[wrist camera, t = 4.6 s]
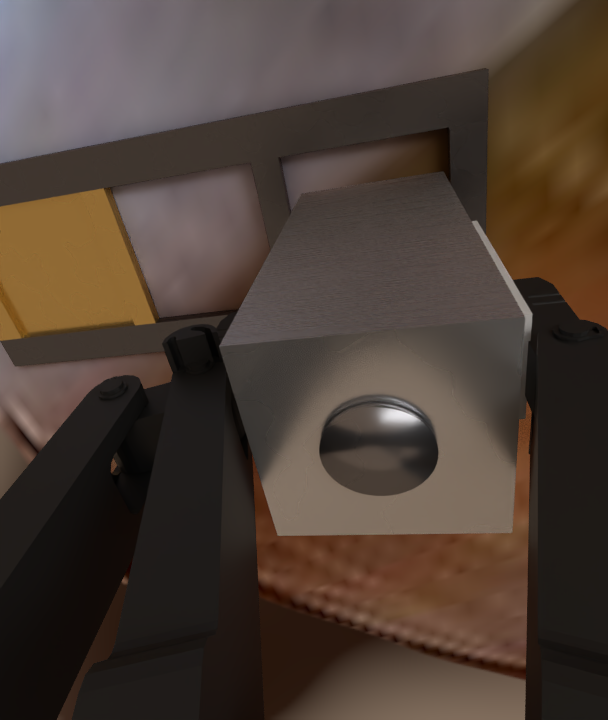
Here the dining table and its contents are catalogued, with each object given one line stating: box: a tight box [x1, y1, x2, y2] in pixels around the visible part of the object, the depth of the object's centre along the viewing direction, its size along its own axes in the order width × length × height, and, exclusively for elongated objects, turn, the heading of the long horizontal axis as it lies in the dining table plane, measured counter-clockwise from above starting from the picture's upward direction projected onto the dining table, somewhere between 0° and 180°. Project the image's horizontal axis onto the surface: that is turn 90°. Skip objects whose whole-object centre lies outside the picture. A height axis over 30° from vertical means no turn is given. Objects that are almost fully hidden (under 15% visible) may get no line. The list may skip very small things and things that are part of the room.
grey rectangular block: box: [219, 171, 525, 536], centre depth 14 cm, size 5×5×11 cm
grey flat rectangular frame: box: [0, 68, 488, 366], centre depth 21 cm, size 10×24×1 cm, turn 100°
